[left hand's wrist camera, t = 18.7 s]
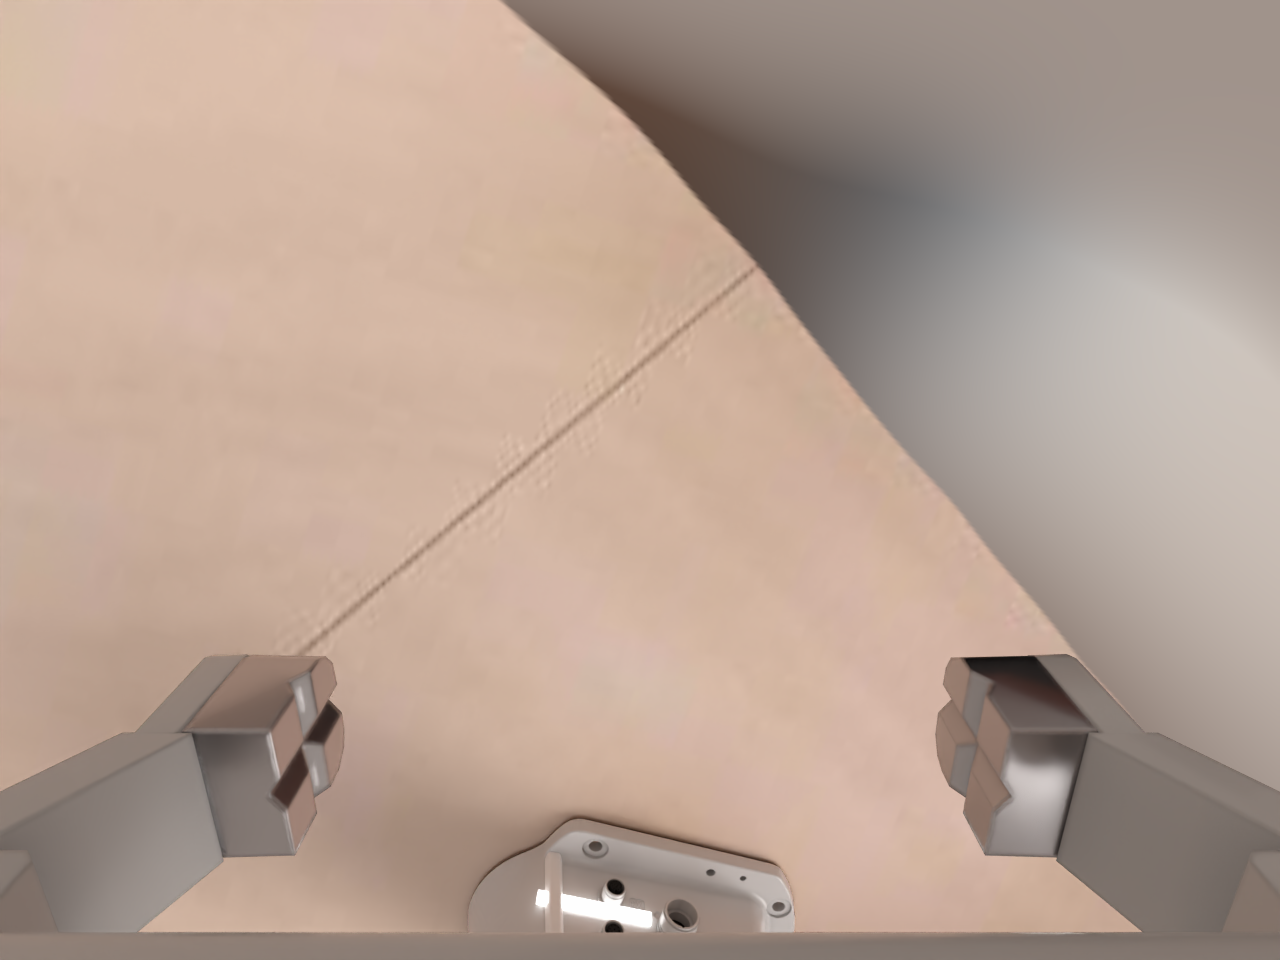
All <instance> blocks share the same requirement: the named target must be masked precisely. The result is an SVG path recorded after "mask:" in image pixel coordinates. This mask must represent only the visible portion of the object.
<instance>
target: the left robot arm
mask: <svg viewBox="0 0 1280 960" xmlns="http://www.w3.org/2000/svg"><path fill="white" fill-rule="evenodd" d="M336 685H337V682H336V677H335V672H334V667H333V663H332V662H331V661H330V660H329V659H328V658H327V657H326V656H281V655H251V656H249V655H213V656H209V657H205V658H204V659H203V660H202V661H201V662H200V663H199V664H198V665H197V666H196V667H195V668H194V669H193V671H192V672H191V673H190V674H189V675H188V676H187V677H186V678H185V679H184V680H183V681H182V682H181V683H180V685H179V686H178V687H177V688H176V689H175V690H174V691H173V692H172V693H171V694H170V695H169V696H168V697H167V699H166V700H165V701H164V702H163V703H162V704H161V705H160V706H159V707H158V708H157V709H156V710H155V711H154V713H153V714H152V715H151V716H150V717H149V718H148V719H147V720H146V721H145V722H144V723H143V724H142V725H141V727H140V728H139V729H138V730H137V731H136V732H135V733H121V734H119V735H116V736H114V737H112V738H110V739H108V740H106V741H104V742H102V743H100V744H98V745H96V746H94V747H92V748H90V749H88V750H85V751H83V752H81V753H79V754H77V755H75V756H73V757H71V758H69V759H67V760H65V761H63V762H61V763H59V764H56V765H54V766H52V767H50V768H48V769H46V770H44V771H42V772H40V773H38V774H36V775H34V776H32V777H30V778H27V779H25V780H23V781H21V782H19V783H17V784H15V785H13V786H11V787H9V788H7V789H5V790H3V791H1V792H0V960H1280V792H1279V791H1277V790H1275V789H1273V788H1271V787H1269V786H1267V785H1265V784H1262V783H1261V782H1258V781H1256V780H1254V779H1252V778H1250V777H1248V776H1246V775H1244V774H1242V773H1240V772H1238V771H1236V770H1234V769H1232V768H1230V767H1227V766H1225V765H1223V764H1221V763H1219V762H1217V761H1215V760H1213V759H1211V758H1209V757H1207V756H1205V755H1203V754H1201V753H1198V752H1197V751H1194V750H1192V749H1190V748H1188V747H1186V746H1184V745H1182V744H1180V743H1178V742H1176V741H1174V740H1172V739H1170V738H1168V737H1166V736H1163V735H1161V734H1159V733H1145V732H1144V731H1143V730H1142V729H1141V728H1140V727H1139V725H1138V724H1137V723H1136V722H1135V721H1134V720H1133V719H1132V718H1131V717H1130V716H1129V715H1128V714H1127V712H1126V711H1125V710H1124V709H1123V708H1122V707H1121V706H1120V705H1119V704H1118V703H1117V702H1116V701H1115V700H1114V698H1113V697H1112V696H1111V695H1110V694H1109V693H1108V692H1107V691H1106V690H1105V689H1104V688H1103V687H1102V686H1101V684H1100V683H1099V682H1098V681H1097V680H1096V679H1095V678H1094V677H1093V676H1092V675H1091V674H1090V673H1089V672H1088V670H1087V669H1086V668H1085V667H1084V666H1083V665H1082V664H1081V663H1080V662H1079V661H1078V660H1077V659H1076V658H1074V657H1072V656H1069V655H1067V654H1057V655H1028V656H1007V657H955V658H951V659H950V661H949V663H948V665H947V667H946V670H945V676H944V681H943V685H944V687H945V689H946V690H947V692H948V694H949V695H950V697H951V700H950V701H949V702H948V703H947V704H946V705H945V706H944V707H943V708H942V709H941V710H940V711H939V713H938V718H937V726H936V734H935V735H936V746H937V756H938V759H939V763H940V766H941V770H942V772H943V774H944V776H945V778H946V780H947V783H948V785H949V786H950V787H951V788H953V789H954V790H955V791H957V792H958V793H960V794H961V795H963V796H964V797H965V798H966V799H965V805H964V810H963V814H964V816H965V818H966V820H967V822H968V823H969V825H970V827H971V829H972V831H973V833H974V835H975V837H976V839H977V841H978V843H979V844H980V846H981V848H982V850H983V852H984V854H985V855H990V856H1025V857H1057V859H1056V861H1057V862H1058V863H1060V864H1061V865H1062V866H1063V867H1065V868H1066V869H1067V870H1068V871H1069V872H1071V873H1072V874H1073V875H1074V876H1075V877H1077V878H1078V879H1079V880H1080V881H1081V882H1083V883H1084V884H1085V885H1086V886H1088V887H1089V888H1090V889H1091V890H1092V891H1094V892H1095V893H1096V894H1097V895H1098V896H1100V897H1101V898H1102V899H1103V900H1105V901H1106V902H1107V903H1108V904H1109V905H1111V906H1112V907H1113V908H1114V909H1115V910H1117V911H1118V912H1119V913H1120V914H1121V915H1123V916H1124V917H1125V918H1126V919H1128V920H1129V921H1130V922H1131V923H1132V924H1134V925H1135V926H1136V927H1137V928H1138V929H1140V930H1141V931H1142V932H1116V933H992V932H794V925H795V915H794V904H793V897H792V891H791V888H790V885H789V882H788V880H787V878H786V876H785V875H784V873H783V872H782V870H781V869H780V868H779V867H778V866H776V865H773V864H770V863H766V862H762V861H758V860H754V859H750V858H746V857H742V856H737V855H733V854H729V853H725V852H721V851H716V850H712V849H708V848H704V847H700V846H695V845H691V844H687V843H683V842H679V841H674V840H670V839H666V838H662V837H658V836H653V835H649V834H645V833H641V832H637V831H632V830H628V829H624V828H620V827H616V826H611V825H607V824H603V823H599V822H595V821H590V820H586V819H573V820H570V821H568V822H566V823H565V824H563V825H562V826H561V827H559V828H558V829H557V830H556V831H555V832H554V833H553V834H552V835H551V836H550V837H549V838H548V839H547V840H546V841H545V842H544V843H543V844H541V845H539V846H538V847H536V848H533V849H531V850H529V851H526V852H524V853H522V854H519V855H517V856H515V857H513V858H511V859H509V860H507V861H505V862H504V863H502V864H501V865H499V866H498V867H496V868H495V869H494V870H492V871H491V872H490V873H489V874H488V875H487V876H486V877H485V878H484V879H483V880H482V882H481V883H480V884H479V886H478V887H477V889H476V890H475V892H474V894H473V896H472V899H471V901H470V904H469V909H468V916H467V923H468V932H469V933H197V932H138V931H139V930H141V929H142V928H143V927H144V926H145V925H147V924H148V923H149V922H150V921H151V920H153V919H154V918H155V917H156V916H158V915H159V914H160V913H161V912H162V911H164V910H165V909H166V908H167V907H168V906H170V905H171V904H172V903H173V902H175V901H176V900H177V899H178V898H179V897H181V896H182V895H183V894H184V893H185V892H187V891H188V890H189V889H190V888H192V887H193V886H194V885H195V884H196V883H198V882H199V881H200V880H201V879H202V878H204V877H205V876H206V875H207V874H209V873H210V872H211V871H212V870H213V869H215V868H216V867H217V866H218V865H219V864H221V863H222V862H223V857H253V856H288V855H295V854H296V852H297V850H298V848H299V847H300V845H301V843H302V841H303V839H304V837H305V835H306V833H307V831H308V829H309V827H310V825H311V823H312V822H313V820H314V818H315V816H316V814H317V810H316V805H315V799H314V798H315V797H316V796H317V795H319V794H320V793H322V792H323V791H325V790H326V789H327V788H329V787H330V786H331V785H332V782H333V780H334V778H335V776H336V774H337V772H338V770H339V767H340V762H341V758H342V753H343V749H344V724H343V717H342V713H341V711H340V710H339V709H338V708H337V707H336V706H335V705H334V704H333V703H332V702H331V701H330V700H329V697H330V696H331V694H332V692H333V690H334V689H335V687H336ZM593 841H598V842H593Z"/></svg>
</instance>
